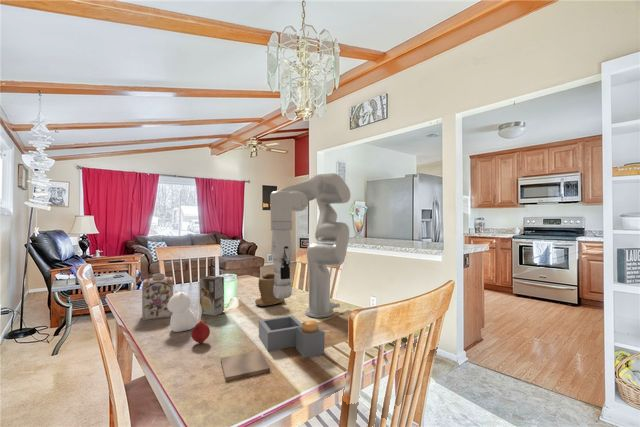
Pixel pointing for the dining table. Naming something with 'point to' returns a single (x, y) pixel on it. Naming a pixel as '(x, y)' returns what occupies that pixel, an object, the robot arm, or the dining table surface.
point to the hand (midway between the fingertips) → (282, 276)
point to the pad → (244, 365)
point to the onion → (200, 332)
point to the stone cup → (267, 291)
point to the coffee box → (212, 295)
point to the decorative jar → (156, 297)
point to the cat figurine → (182, 312)
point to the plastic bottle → (281, 281)
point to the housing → (290, 336)
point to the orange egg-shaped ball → (310, 326)
